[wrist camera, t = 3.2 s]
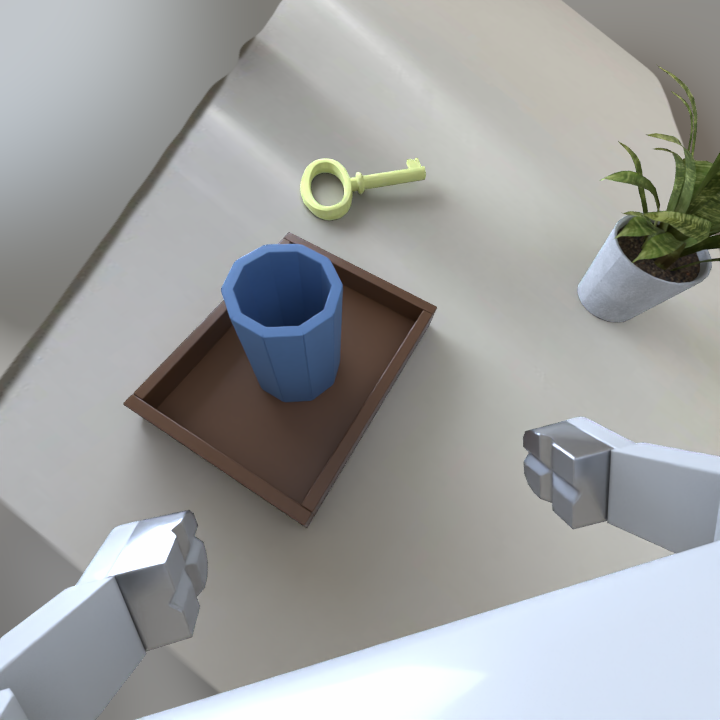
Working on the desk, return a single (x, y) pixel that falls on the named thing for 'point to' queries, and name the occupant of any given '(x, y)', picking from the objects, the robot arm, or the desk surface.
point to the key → (352, 184)
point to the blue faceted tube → (287, 318)
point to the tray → (277, 418)
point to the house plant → (657, 238)
